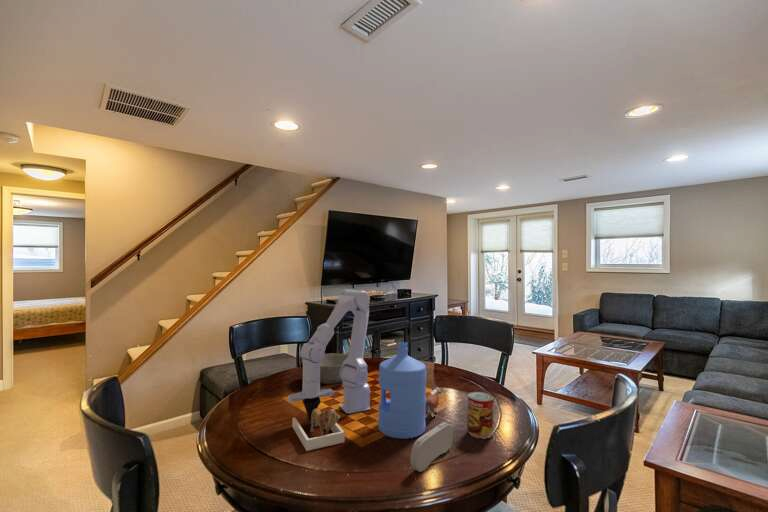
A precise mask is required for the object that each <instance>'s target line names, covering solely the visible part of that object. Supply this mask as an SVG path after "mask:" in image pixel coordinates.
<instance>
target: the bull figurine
mask: <svg viewBox="0 0 768 512" xmlns="http://www.w3.org/2000/svg"><path fill="white" fill-rule="evenodd" d="M442 395H443V393H442V391H441V389H440V388H439V387H435V388H434V387H432V388H431V392H430V393H429V394H428V396H426V405H425V418H427V419H428V413H430V415H431V417H432V418H433V417H434V416H435V411H437V412H438V410H437V409H438V405H439V401H440V400H439V399H440V398H439V396H442ZM435 417H436V416H435Z"/></svg>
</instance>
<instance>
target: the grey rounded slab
mask: <svg viewBox="0 0 768 512" xmlns="http://www.w3.org/2000/svg"><path fill="white" fill-rule="evenodd" d="M453 440H454V430H453V427H452V425H451V424H449V423H448V422H444V421H443V422H441V423H439V424H438V425H437V426H435V427H433V428H432V429H430V430H429V431H427V432H426V433H423V434H422V435H420V436H419V437H417V439H416V440H415V442H414V444H413V446H412V448H411V451H410V458H409V459H410V465H411V467H412V469H413V470H415V471H417V472H420V473H423V472H424V471H423V470H424V469H426V467H427V468H428V467H429V466H430V463H431V462H433V461H434V460H435V459H437V458H438V457H439V456H440V455H444V454H443V453H444V452H445V451H447V450H448V449H449V448H450V449H451V447H452V443H453ZM450 449H449V450H450ZM426 470H427V469H426ZM422 471H423V472H422Z"/></svg>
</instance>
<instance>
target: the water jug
mask: <svg viewBox="0 0 768 512" xmlns="http://www.w3.org/2000/svg"><path fill="white" fill-rule="evenodd" d="M397 344H398V348H397V350H398V352H397V355H395V356H392V357H391V358H387V359H385V360H382V361H381V362H380V363H379V369H378V386H379V387H380V402H379V404H378V419H377V426H378V427H377V428H378V431H379V432H380V433H382V434H383V436H384V435H385V436H387V437H388V438H389V437H390V438H392V439H400V440H408V439H409V438H410V439H414V437H415V438H418V437H420V436H422V435H423V434H424V432H425V431H426V419H425V405H426V399H427V395H426V394H427V392H426V390H427V389H426V388H427V385H426V384H427V383H426V382H427V366H426V364H425V363H424V362H422V361H420V360H418V359H416V358H414V357H412V356H409V354H408V349H409V348H408V345H409V344H408V342H405V341H401V342H398V343H397ZM387 392H388V393H389V395H390V398H389V399H386V398H387ZM419 435H420V436H419ZM417 436H418V437H417Z"/></svg>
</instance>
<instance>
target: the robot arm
mask: <svg viewBox="0 0 768 512" xmlns="http://www.w3.org/2000/svg"><path fill="white" fill-rule="evenodd" d="M370 300H371V296H370V295H369V294H368V293H367V292H366V291H365V290H356V289H355V290H354V289H349V288H346V289H343V290H342V292H341V293H340V295H339V296H338V297H337V303H336V305H335V307H334V308H333V310H332V311H331V313H330V315H329V317H328V319H327V320H326V322H324V323H322V324H320V325H318V326H317V328H316V331H315V332H314V333H313V335H312V336H311V338H309V341H308V342H306V343H304V344H303V345H302V347H301V349H300V350H299V352H298V354H299V356H300V358H301V362H302V390H301V391H299V392H296V393H292V394H288V403H289V404H291V403H294V402H299V401H301V402H302V404H303V406H304V408H305V412H306V415H307V421H308V423H309V422H310V421H311V414H312V411H313V410H314V409H319V408H318V407H319V405H320V404H321V399H320V398H322V397H323V398H324V397H333V391H334V390H333V389H332V388H321V382H320V360H321V359H322V358H323V357H324V354H326V352H325V351H326V348H327V346H328V343H329V342H330V341H331V339H332V338H333V336H334V335H335V328H336V326H337V325H338V324H339V322H340V321H341V320H342V318H343V317H344V316H345V315H346V314H347V313H348V312H352V314H353V316H354V317H353V322H352V323H353V324H352V328H351V329H352V330H351V336H350V343H349V349H348V351H349V352H348V355H349V356H348V358H346V359H345V360H344V361H343V365H342V368H341V370H340V378H341V379H342V380H343V381H342V385H343V401H342V402H343V404H339V408H341V409H342V410H343V412H345V413H346V414H347V415H348V414H354V413H358V412H363V411H369V410H371V406H370V405H371V397H370V396H371V389H370V385H369V383H367V381H368V378H369V377H368V376H369V374H368V364H367V363H366V362H365V359H364V353H365V345H366V338H367V332H368V331H367V330H368V324H369V317H370V302H371V301H370Z"/></svg>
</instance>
